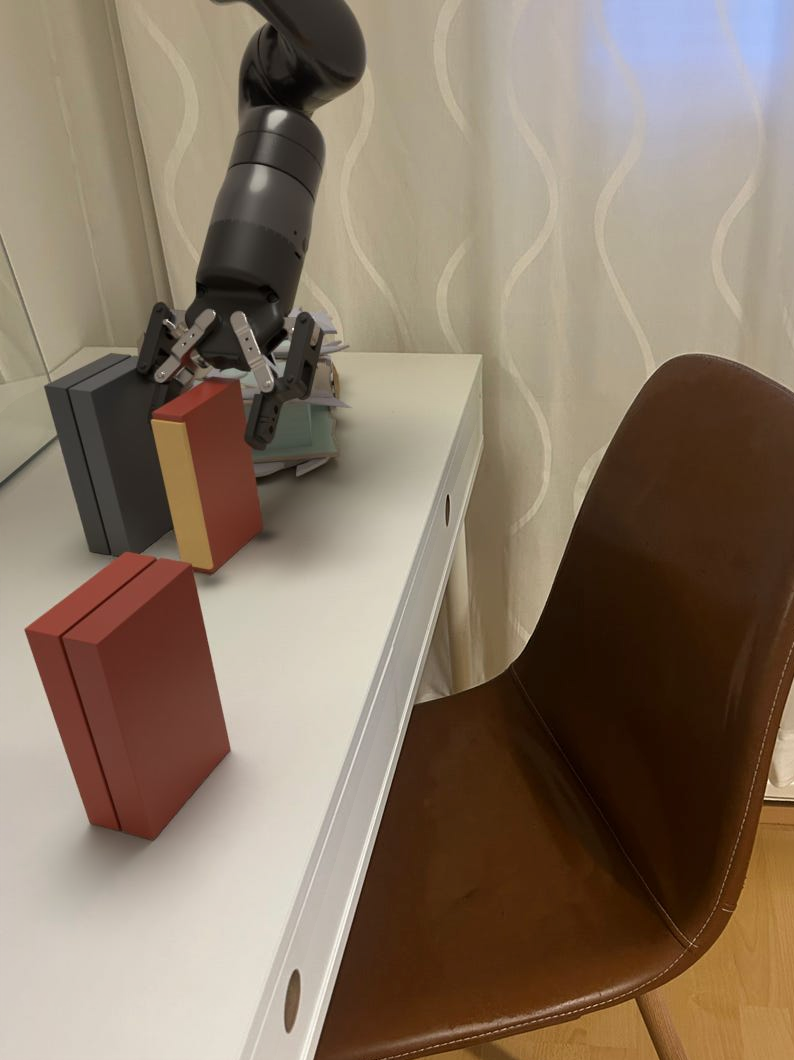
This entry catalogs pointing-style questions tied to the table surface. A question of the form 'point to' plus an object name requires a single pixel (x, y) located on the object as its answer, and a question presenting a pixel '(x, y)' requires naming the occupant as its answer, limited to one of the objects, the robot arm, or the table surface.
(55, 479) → the table surface
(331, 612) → the table surface
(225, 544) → the red book
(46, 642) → the red books
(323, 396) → the ornate book
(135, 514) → the grey books
